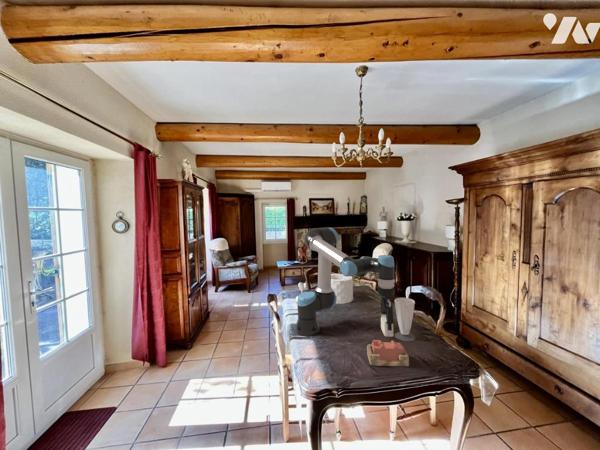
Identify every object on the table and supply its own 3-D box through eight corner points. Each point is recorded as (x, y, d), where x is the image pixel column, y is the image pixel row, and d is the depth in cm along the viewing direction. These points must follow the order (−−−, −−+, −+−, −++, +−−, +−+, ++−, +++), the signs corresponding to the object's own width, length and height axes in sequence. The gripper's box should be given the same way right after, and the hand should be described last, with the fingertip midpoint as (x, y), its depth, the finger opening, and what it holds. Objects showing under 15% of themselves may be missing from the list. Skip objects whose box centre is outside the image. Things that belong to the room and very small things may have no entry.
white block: (393, 336, 125) (393, 324, 125) (384, 336, 126) (384, 323, 126) (388, 328, 134) (388, 316, 134) (380, 328, 135) (380, 316, 135)
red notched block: (374, 360, 128) (374, 343, 128) (372, 353, 134) (371, 337, 134) (403, 360, 127) (403, 344, 127) (400, 354, 133) (399, 338, 133)
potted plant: (306, 313, 193) (305, 280, 191) (293, 311, 199) (292, 278, 197) (314, 308, 203) (313, 276, 202) (301, 305, 209) (301, 274, 208)
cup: (391, 332, 160) (391, 297, 159) (410, 332, 160) (410, 297, 159) (398, 341, 149) (398, 304, 148) (418, 341, 148) (418, 304, 147)
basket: (355, 303, 212) (355, 280, 211) (326, 304, 212) (325, 281, 211) (350, 293, 236) (349, 273, 236) (323, 294, 237) (323, 273, 236)
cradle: (370, 365, 126) (370, 355, 126) (366, 353, 137) (366, 344, 137) (409, 367, 125) (409, 356, 124) (402, 354, 136) (402, 345, 135)
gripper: (400, 293, 118) (401, 342, 119) (388, 281, 139) (389, 322, 141) (383, 293, 119) (384, 342, 120) (374, 281, 140) (375, 322, 141)
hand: (386, 331), depth 130 cm, fingers closed on white block, 9 cm apart
